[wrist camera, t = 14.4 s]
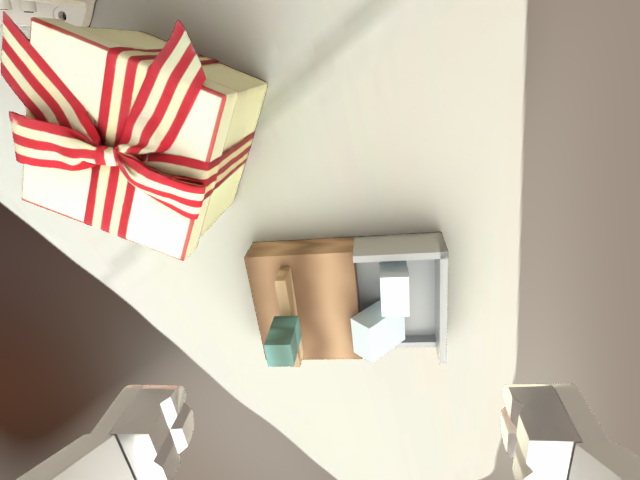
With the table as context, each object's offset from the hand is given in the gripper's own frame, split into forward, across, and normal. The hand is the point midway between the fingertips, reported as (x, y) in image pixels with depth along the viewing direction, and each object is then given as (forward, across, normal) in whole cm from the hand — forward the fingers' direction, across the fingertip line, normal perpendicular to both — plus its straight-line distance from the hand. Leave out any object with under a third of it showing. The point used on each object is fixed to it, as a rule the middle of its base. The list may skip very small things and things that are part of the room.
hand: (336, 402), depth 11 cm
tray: (+37, -3, +20) cm, 42 cm away
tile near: (+34, -1, +17) cm, 37 cm away
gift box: (+37, +19, -4) cm, 42 cm away
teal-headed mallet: (+33, +10, +20) cm, 40 cm away
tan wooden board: (+37, +8, +20) cm, 43 cm away
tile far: (+34, +1, +23) cm, 41 cm away
